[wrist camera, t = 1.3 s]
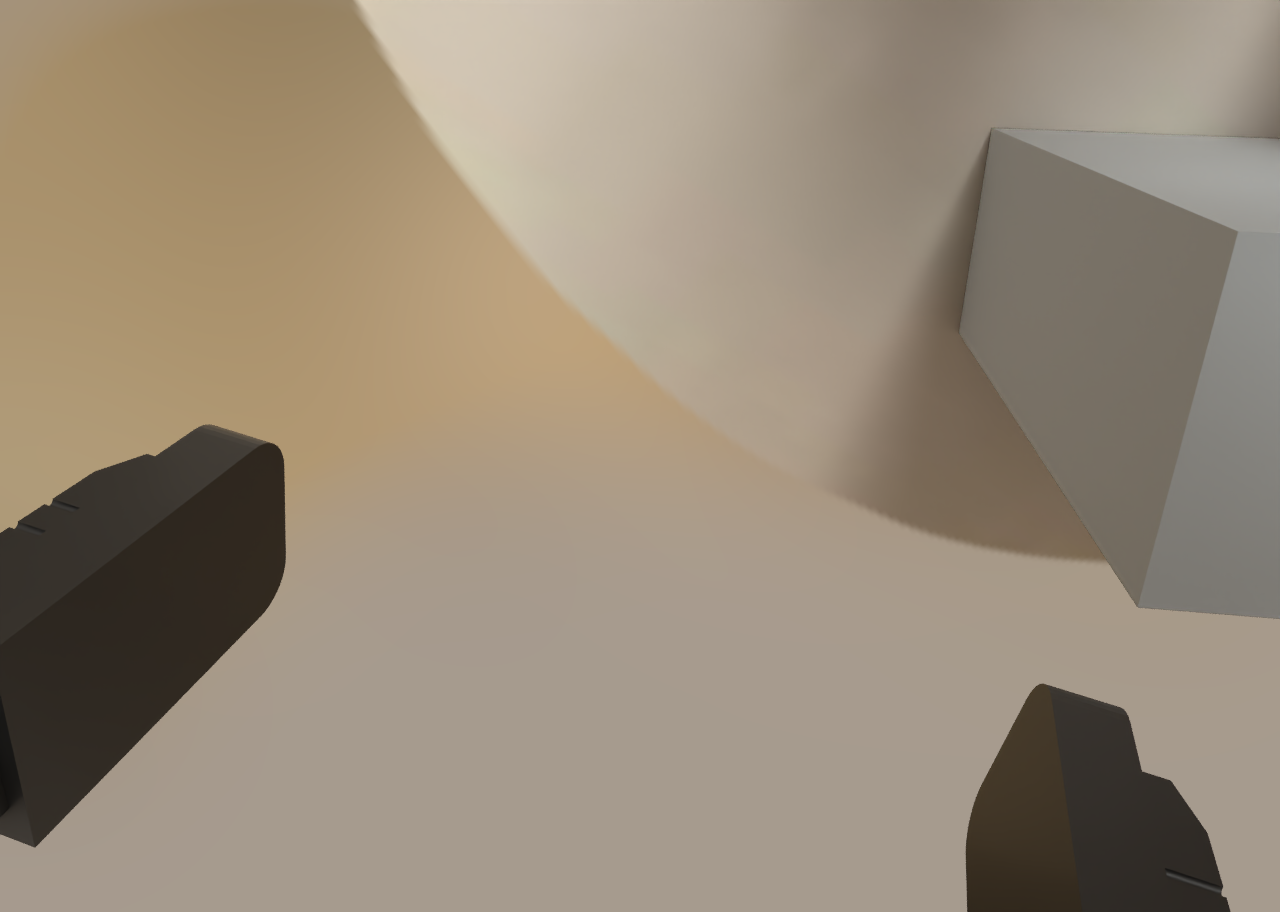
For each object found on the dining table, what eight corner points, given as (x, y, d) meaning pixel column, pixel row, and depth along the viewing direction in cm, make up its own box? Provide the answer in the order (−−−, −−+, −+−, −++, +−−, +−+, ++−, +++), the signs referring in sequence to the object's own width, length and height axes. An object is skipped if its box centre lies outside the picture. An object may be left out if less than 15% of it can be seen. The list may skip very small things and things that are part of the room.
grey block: (991, 128, 37) (1238, 231, 18) (1328, 140, 36) (1978, 264, 17) (958, 333, 40) (1137, 607, 21) (1267, 350, 39) (1753, 657, 20)
